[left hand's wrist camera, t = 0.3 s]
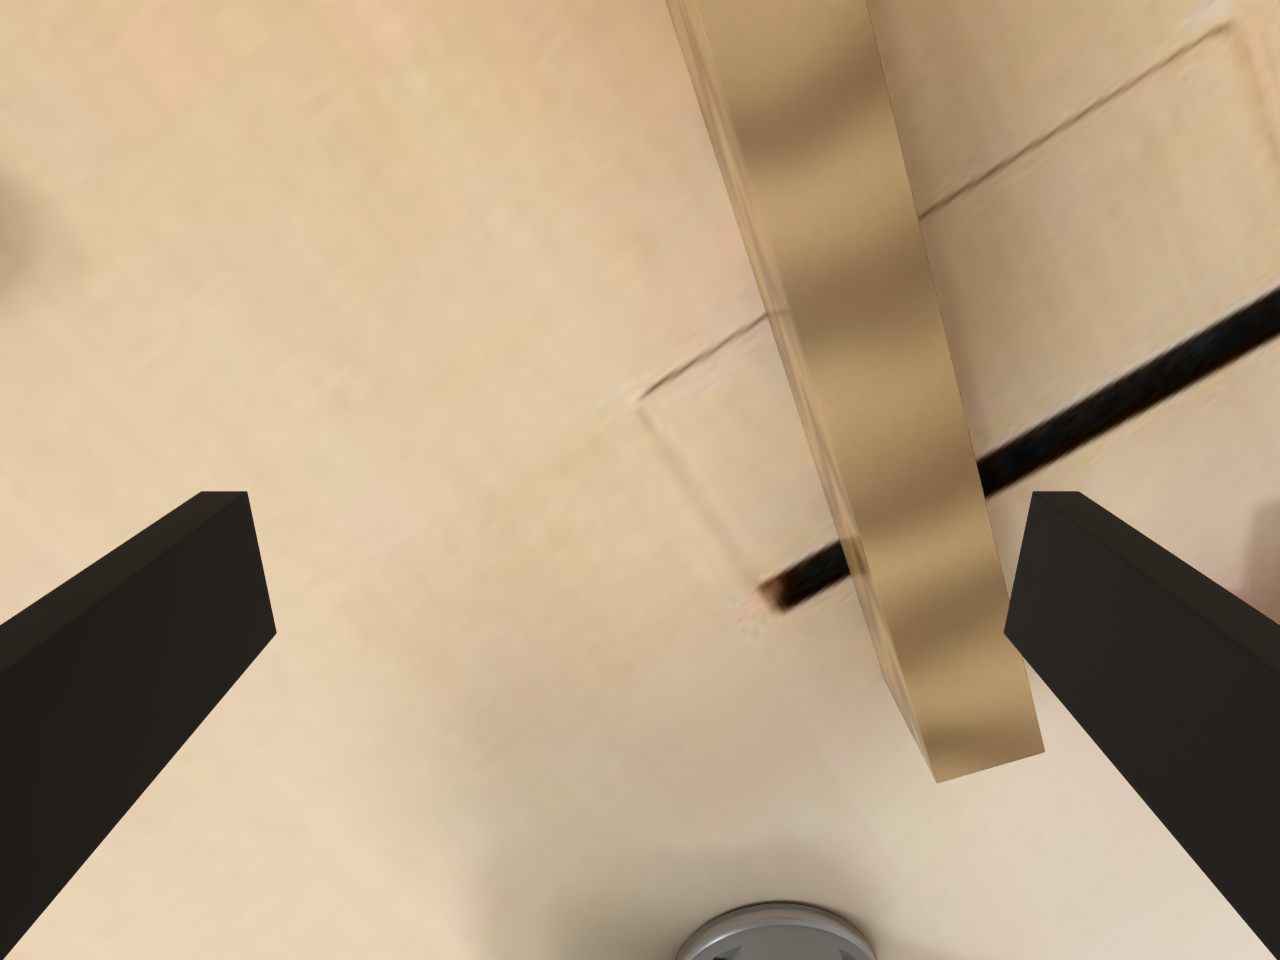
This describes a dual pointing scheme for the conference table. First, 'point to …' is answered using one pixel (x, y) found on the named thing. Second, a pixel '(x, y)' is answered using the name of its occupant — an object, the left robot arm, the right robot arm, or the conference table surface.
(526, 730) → the conference table surface
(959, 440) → the post
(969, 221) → the conference table surface
